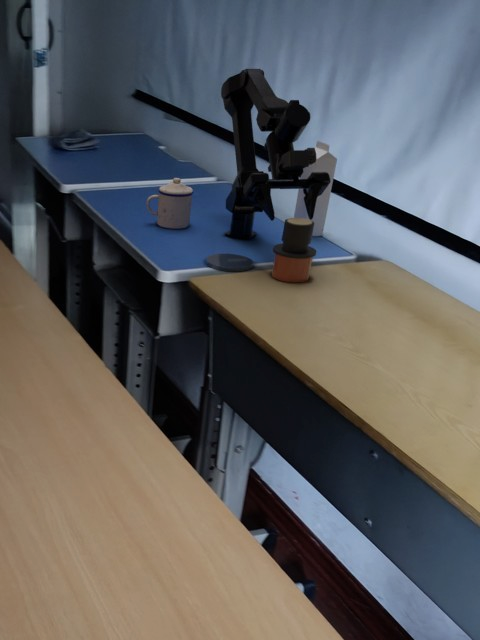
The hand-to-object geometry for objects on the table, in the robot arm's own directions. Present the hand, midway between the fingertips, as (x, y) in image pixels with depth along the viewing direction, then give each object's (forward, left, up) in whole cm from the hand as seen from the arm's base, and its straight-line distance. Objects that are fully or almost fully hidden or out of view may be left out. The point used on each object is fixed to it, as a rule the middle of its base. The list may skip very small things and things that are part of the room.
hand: (292, 219), depth 186 cm
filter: (+3, +2, -8) cm, 9 cm away
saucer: (+2, -13, -12) cm, 17 cm away
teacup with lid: (-20, -39, -12) cm, 45 cm away
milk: (-34, -5, -12) cm, 36 cm away
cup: (+3, +2, -12) cm, 12 cm away
